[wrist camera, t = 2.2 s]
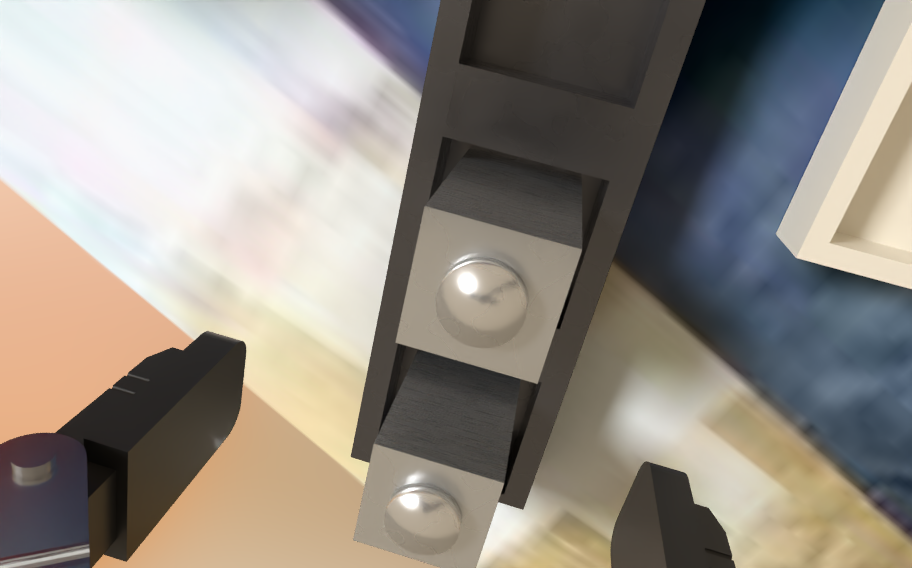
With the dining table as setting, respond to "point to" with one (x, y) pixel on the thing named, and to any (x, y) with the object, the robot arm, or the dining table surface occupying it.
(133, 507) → the robot arm
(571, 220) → the silver knobbed block
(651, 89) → the dark grey compartment tray
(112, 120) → the dining table surface
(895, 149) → the parts tray
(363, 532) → the square metal peg
